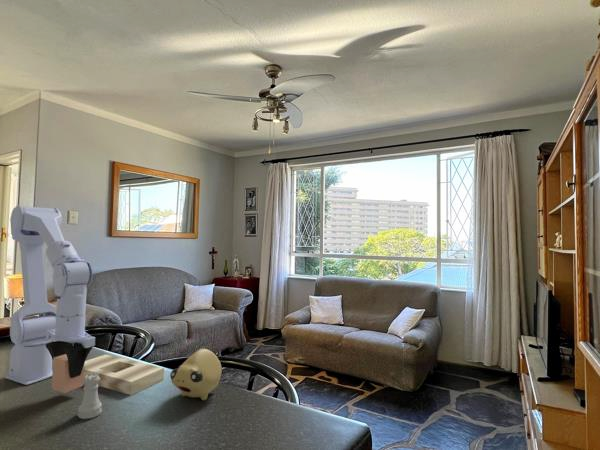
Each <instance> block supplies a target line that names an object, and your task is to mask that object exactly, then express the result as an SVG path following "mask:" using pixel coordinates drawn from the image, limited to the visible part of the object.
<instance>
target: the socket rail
mask: <svg viewBox="0 0 600 450" xmlns="http://www.w3.org/2000/svg"><path fill="white" fill-rule="evenodd" d="M90 373H91V375H93V373H96V374H97V373H98V376H99V377H100V380H99V381H98V386H99V387H102V388H106V389H108V390H112V391H114V392H119V393H122V394H125V395H129V396H132V395H134V394H137V393H138V392H140V391H142V390H145V389H146V388H149V387H152V386H153V385H155V384H158V383H160V382H162V381H164V380H165V377H164V376H165V367H161V366H159V365H158V366H157V365H152V364H149V363H145V362H140V361H135V360H131V359H127V358H124V357H118V356H115V355H111V354H103V355H99V356H96V357H93V358H90V359H88V360H85V363H84V376H85V375H87V376H88V374H90Z"/></svg>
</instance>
